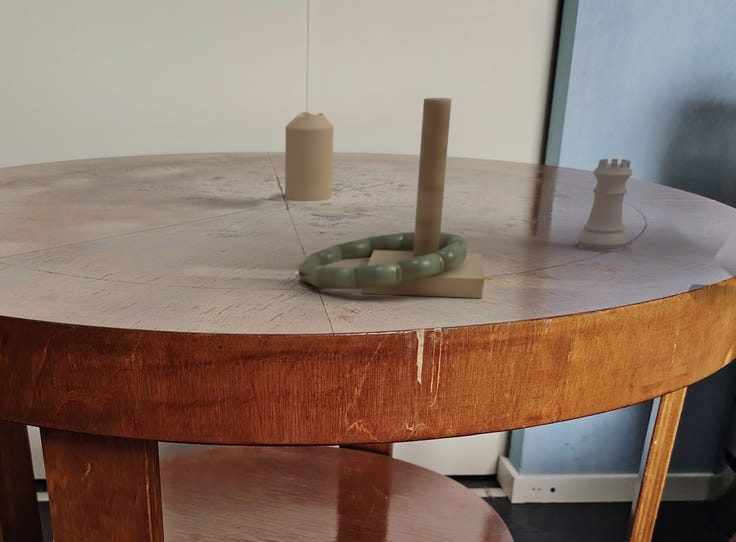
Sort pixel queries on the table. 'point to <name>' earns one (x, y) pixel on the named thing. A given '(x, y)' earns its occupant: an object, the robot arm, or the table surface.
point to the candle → (309, 158)
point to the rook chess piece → (607, 208)
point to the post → (432, 218)
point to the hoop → (380, 274)
